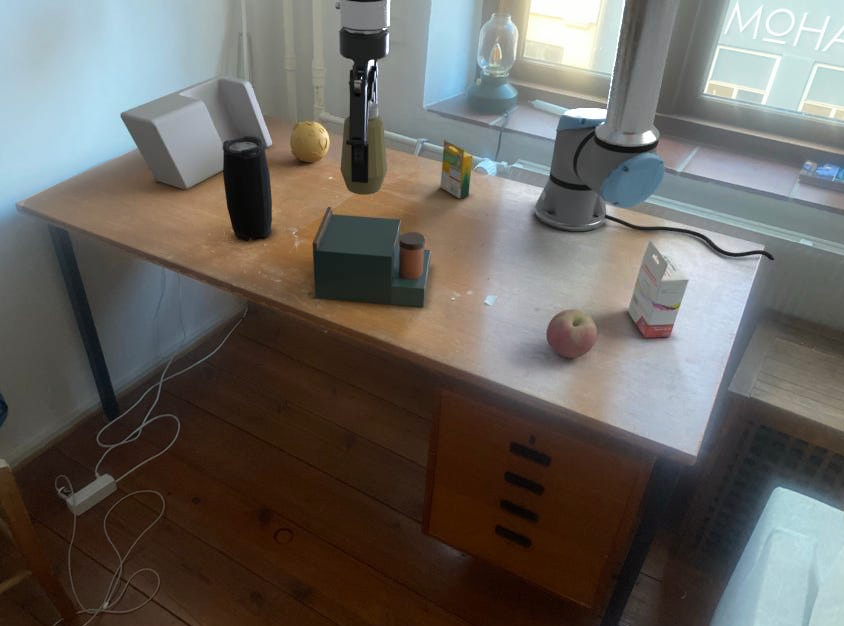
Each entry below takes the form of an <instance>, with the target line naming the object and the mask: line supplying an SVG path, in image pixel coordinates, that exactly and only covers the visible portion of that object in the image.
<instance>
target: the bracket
mask: <svg viewBox="0 0 844 626" xmlns="http://www.w3.org/2000/svg"><path fill="white" fill-rule="evenodd" d="M119 116H120V118H121V121H122V122H123V124H124V126H125V127H126V129H127V132H128V133H129V135H130V136H131V137H130V138H131V139H132V141H133V142H134V143H135V146H136V147H137V149H138V152H140V155H141V156H142V159H143V160H144V162H145V164H146V165H147V167H148V169H149V170H150V172H151V174H152V176H153V178H154V179H155V180H156V181H157V182H159V183H163V184H166V185H170V186H172V187H176V188H178V189H182V190H184V191H185V190H189V189H190V188H192V187H194V186H196V185H198V184H200V183H201V182H204V181H205V180H207V179H209V178H211V177H213V176H215V175H217V174H220V173H221V172H223V155H224V151H223V148H222V146H223V143H224V142H225V141H227V140H234V139H239V138H243V137H245V136H252V137H257V138H259V139H261V141H262V143H263V146H264V149H267V148H269V147H271V146H272V145H273V142H272V138H271V136H270V133H269V130H268V127H267V124H266V122H265V119H264V116H263V114H262V111H261V107H260V106H259V103H258V99H257V97H256V94H255V90H254V88H253V86H252V84H251V82H250V81H249V80H245V79H241V78H237V77H232V76H228V75H223V74H218V75H216V76H213V77H210V78H208V79H205V80H203V81H200V82H198V83H195V84H192V85H189V86H187V87H184V88H181V89H180V90H177V91H174V92H171V93H168V94H166V95H163V96H161V97H158V98H156V99H153V100H150V101H148V102H145V103H142V104H140V105H137V106H135V107H132V108H130V109H127V110H125V111H122V112H120V115H119Z"/></svg>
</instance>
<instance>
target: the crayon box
mask: <svg viewBox="0 0 844 626" xmlns="http://www.w3.org/2000/svg"><path fill="white" fill-rule="evenodd" d="M442 149H443V152H442V162H441V163H442V164H441V175H440V189H443V190H444V191H446V192H448V193H449V194H451V195H453V196H454V197H456V198H458V200H459V199H463V198H466V197H469V195H470V186H471V175H472V165H473V155H472V154H470V153H469V152H468V153H467V152H465V150H464V149H463V148H461V147H459V146H457V145H455V144H453V143H451V142H449V141H447V140H445V139H444V140H443V148H442Z"/></svg>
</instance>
